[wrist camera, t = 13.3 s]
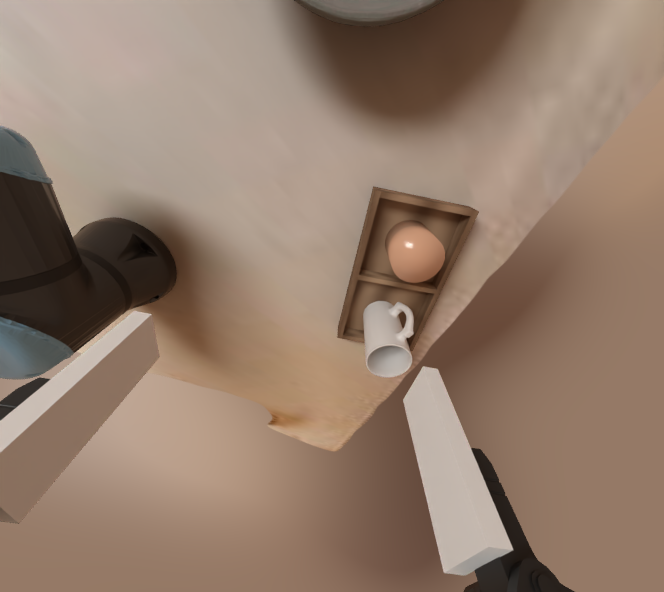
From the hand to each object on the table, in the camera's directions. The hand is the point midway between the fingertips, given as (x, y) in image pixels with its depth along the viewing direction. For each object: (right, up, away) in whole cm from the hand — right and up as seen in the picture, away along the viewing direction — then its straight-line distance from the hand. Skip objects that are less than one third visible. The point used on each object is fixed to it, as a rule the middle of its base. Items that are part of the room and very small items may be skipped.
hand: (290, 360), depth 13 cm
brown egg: (+14, +12, +27) cm, 33 cm away
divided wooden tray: (+13, +7, +31) cm, 34 cm away
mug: (+12, +1, +34) cm, 36 cm away
